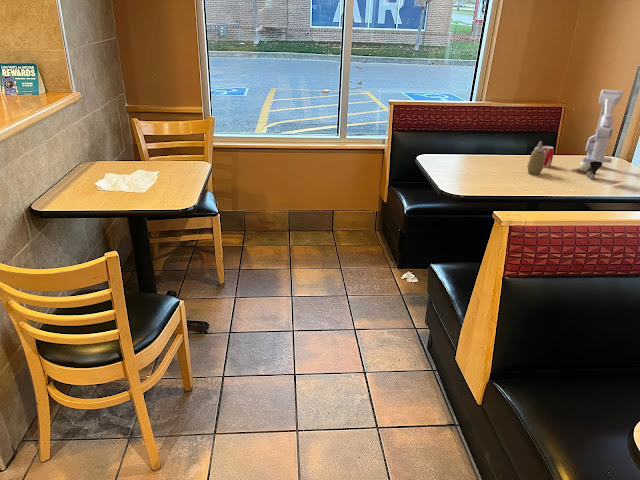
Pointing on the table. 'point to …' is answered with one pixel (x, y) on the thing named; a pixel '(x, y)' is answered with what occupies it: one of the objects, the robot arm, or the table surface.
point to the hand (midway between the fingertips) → (592, 175)
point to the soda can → (548, 156)
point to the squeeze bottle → (536, 160)
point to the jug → (584, 166)
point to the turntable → (585, 173)
